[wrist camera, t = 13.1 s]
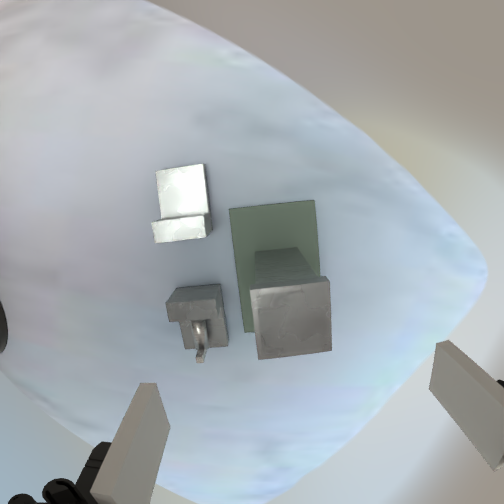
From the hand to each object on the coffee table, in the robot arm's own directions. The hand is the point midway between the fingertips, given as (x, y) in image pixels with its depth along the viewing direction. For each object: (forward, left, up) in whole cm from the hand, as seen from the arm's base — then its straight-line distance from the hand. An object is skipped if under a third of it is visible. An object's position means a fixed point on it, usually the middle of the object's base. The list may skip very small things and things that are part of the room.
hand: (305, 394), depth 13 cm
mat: (0, 0, -23) cm, 23 cm away
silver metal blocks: (-9, +2, -23) cm, 24 cm away
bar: (0, 0, -22) cm, 22 cm away
